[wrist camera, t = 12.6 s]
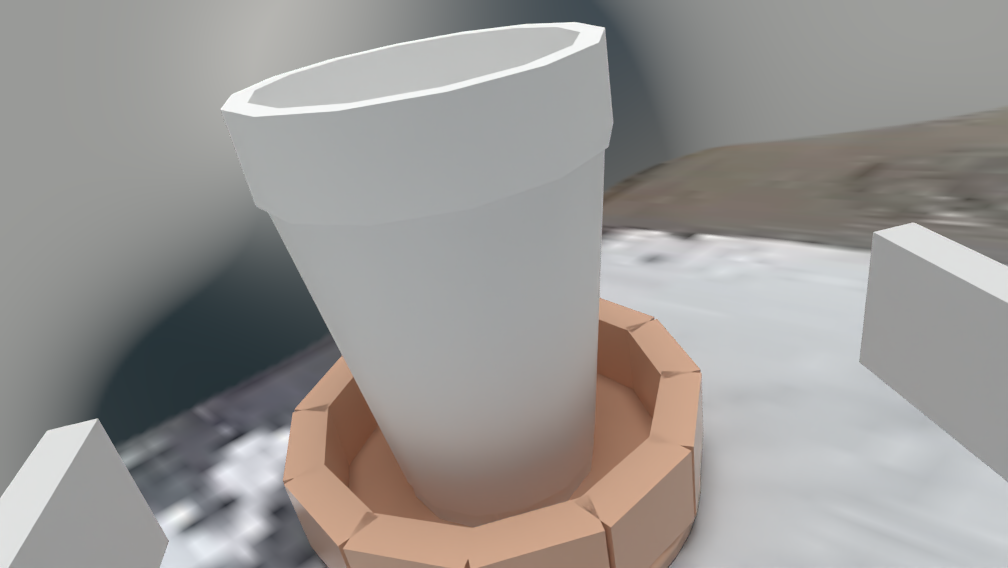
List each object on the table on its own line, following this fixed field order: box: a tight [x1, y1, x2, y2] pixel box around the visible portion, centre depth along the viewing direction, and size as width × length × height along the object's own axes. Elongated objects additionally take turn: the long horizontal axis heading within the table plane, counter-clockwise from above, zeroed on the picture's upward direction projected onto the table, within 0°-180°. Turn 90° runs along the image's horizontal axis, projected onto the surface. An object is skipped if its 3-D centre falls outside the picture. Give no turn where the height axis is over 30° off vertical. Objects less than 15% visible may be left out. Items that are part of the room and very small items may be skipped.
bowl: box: [283, 298, 703, 568], centre depth 22 cm, size 13×13×3 cm
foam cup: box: [221, 22, 613, 527], centre depth 19 cm, size 10×9×13 cm
